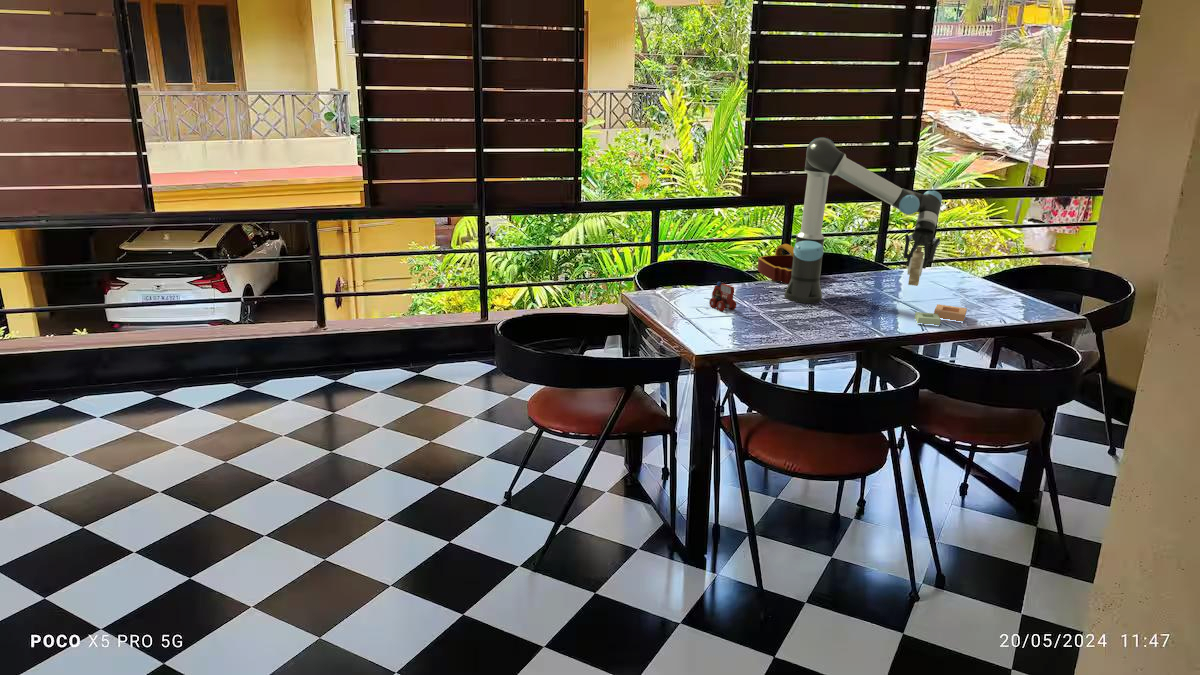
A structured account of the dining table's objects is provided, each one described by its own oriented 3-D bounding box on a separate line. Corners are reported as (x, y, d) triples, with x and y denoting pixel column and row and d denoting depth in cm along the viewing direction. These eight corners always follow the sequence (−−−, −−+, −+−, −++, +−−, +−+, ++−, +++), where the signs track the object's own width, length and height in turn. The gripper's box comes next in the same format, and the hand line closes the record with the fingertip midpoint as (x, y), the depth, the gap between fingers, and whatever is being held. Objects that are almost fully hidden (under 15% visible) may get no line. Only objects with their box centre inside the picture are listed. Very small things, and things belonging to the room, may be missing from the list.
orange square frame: (933, 319, 329) (934, 310, 328) (935, 312, 338) (937, 304, 337) (963, 323, 324) (964, 314, 323) (965, 316, 334) (966, 308, 333)
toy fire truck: (720, 303, 339) (722, 278, 336) (738, 311, 329) (740, 286, 326) (705, 305, 336) (707, 280, 333) (723, 313, 326) (726, 287, 323)
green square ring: (917, 325, 320) (918, 317, 319) (914, 319, 328) (915, 311, 327) (939, 327, 319) (940, 319, 318) (935, 321, 326) (937, 313, 325)
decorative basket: (750, 271, 407) (748, 241, 403) (808, 263, 409) (807, 233, 404) (769, 290, 376) (768, 257, 371) (833, 281, 377) (832, 249, 372)
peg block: (908, 284, 333) (914, 247, 328) (909, 282, 336) (915, 245, 331) (917, 285, 331) (923, 248, 326) (918, 284, 334) (924, 247, 329)
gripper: (947, 233, 337) (936, 281, 328) (904, 228, 344) (892, 275, 335) (948, 222, 331) (937, 271, 322) (904, 217, 338) (892, 265, 329)
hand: (914, 273), depth 328 cm, fingers closed on peg block, 3 cm apart
